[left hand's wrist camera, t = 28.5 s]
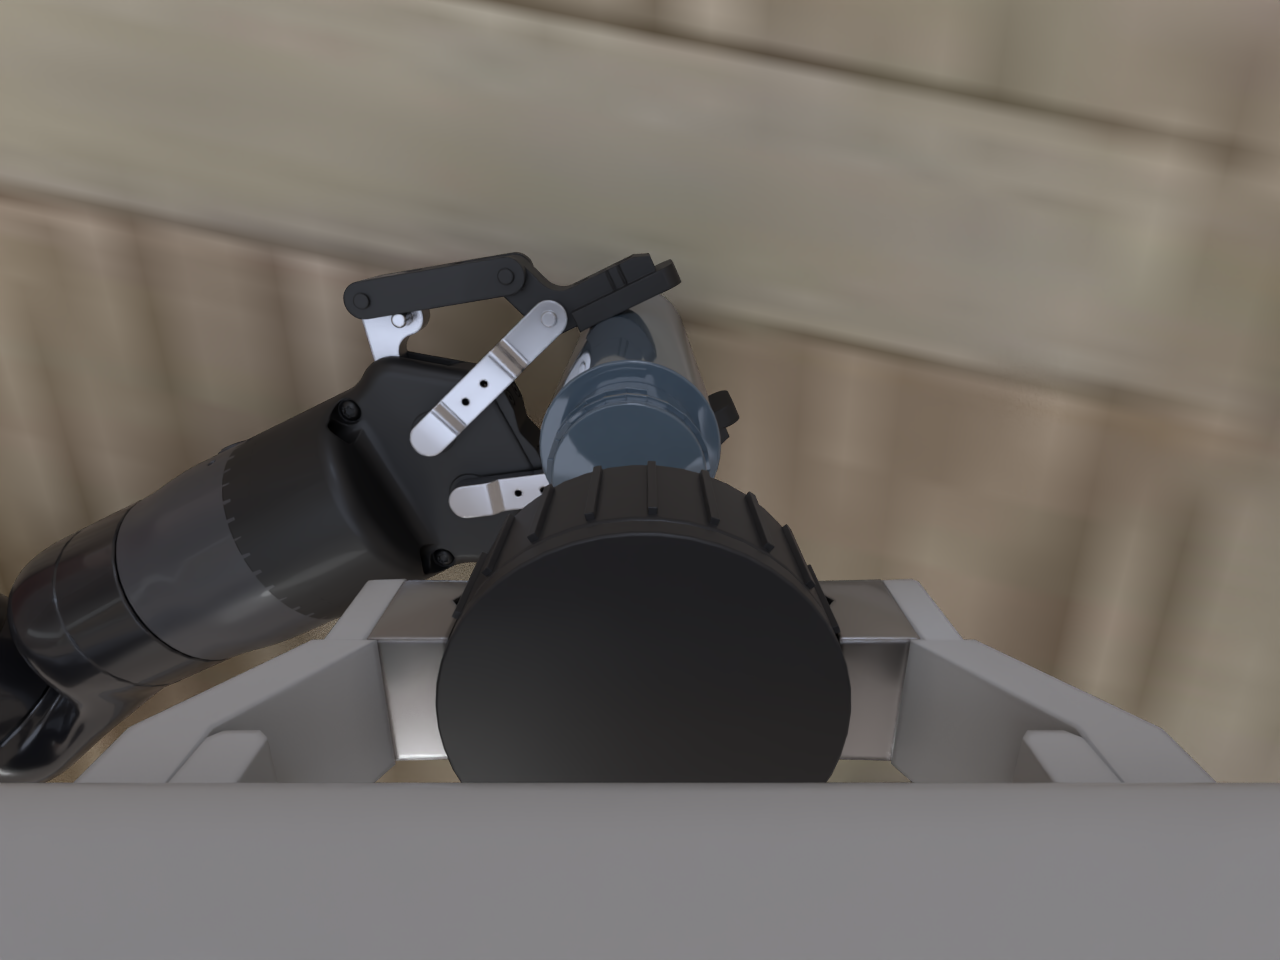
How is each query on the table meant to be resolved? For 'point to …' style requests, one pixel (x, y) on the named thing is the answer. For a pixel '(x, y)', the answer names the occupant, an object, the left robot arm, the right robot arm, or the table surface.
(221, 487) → the right robot arm
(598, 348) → the dark grey cylinder
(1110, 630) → the table surface
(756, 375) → the table surface
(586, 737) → the lid
